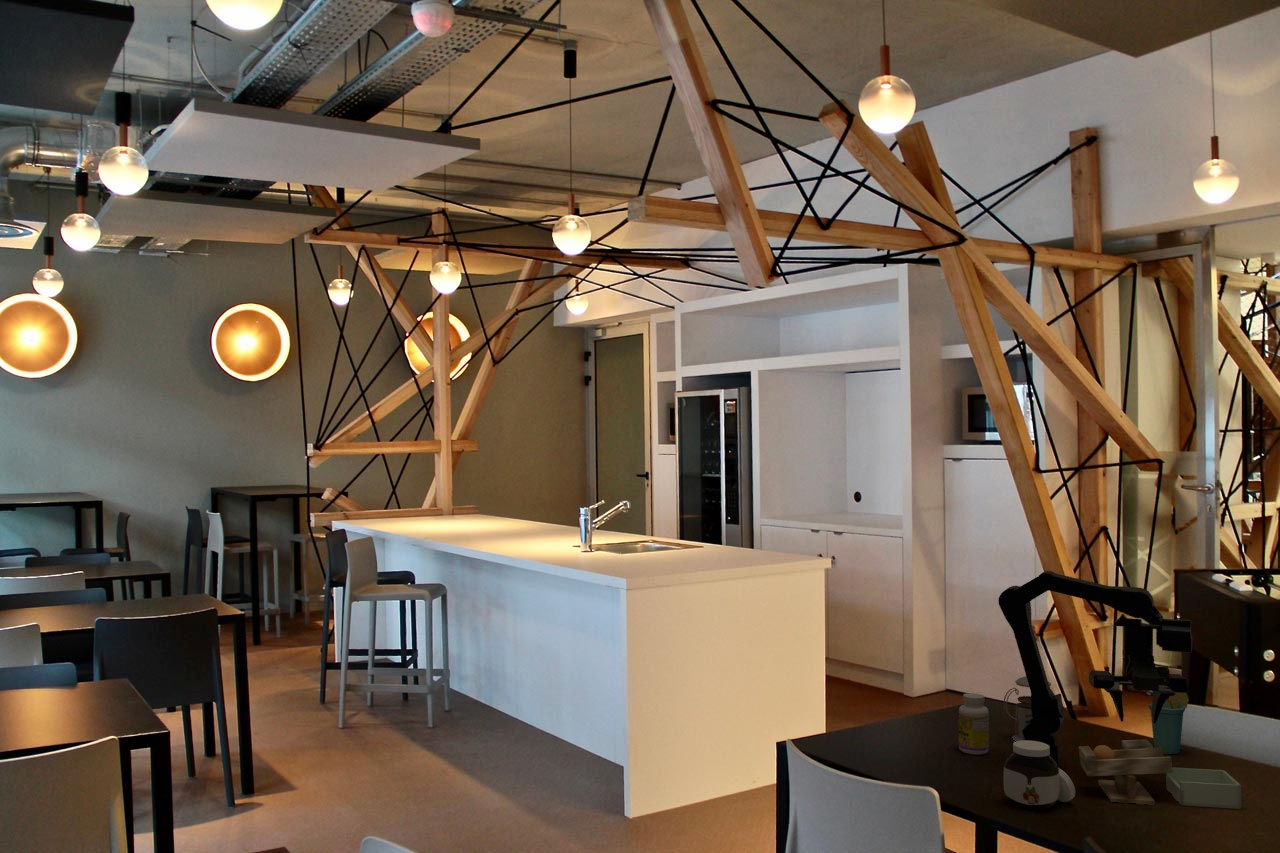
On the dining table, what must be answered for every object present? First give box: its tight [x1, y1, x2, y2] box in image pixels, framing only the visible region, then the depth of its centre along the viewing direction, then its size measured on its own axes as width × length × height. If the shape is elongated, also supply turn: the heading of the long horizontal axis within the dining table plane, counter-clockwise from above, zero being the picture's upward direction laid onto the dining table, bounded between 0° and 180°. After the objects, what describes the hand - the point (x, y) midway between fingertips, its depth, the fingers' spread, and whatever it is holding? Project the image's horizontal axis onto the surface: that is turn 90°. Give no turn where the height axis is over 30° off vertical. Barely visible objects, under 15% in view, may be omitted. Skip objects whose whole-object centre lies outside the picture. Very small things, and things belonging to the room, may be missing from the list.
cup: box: [1144, 690, 1190, 755], centre depth 250 cm, size 14×8×15 cm, turn 122°
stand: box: [1097, 774, 1156, 806], centre depth 220 cm, size 8×12×5 cm, turn 169°
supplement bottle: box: [958, 692, 990, 756], centre depth 250 cm, size 7×7×13 cm
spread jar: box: [1003, 740, 1076, 811], centre depth 215 cm, size 12×11×12 cm
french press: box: [1003, 635, 1052, 742], centre depth 259 cm, size 10×12×25 cm
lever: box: [1078, 738, 1173, 777], centre depth 225 cm, size 16×17×4 cm
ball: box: [1092, 744, 1114, 760], centre depth 221 cm, size 4×4×4 cm
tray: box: [1165, 766, 1243, 810], centre depth 218 cm, size 11×10×4 cm
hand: (1137, 722), depth 230 cm, fingers open, 6 cm apart
